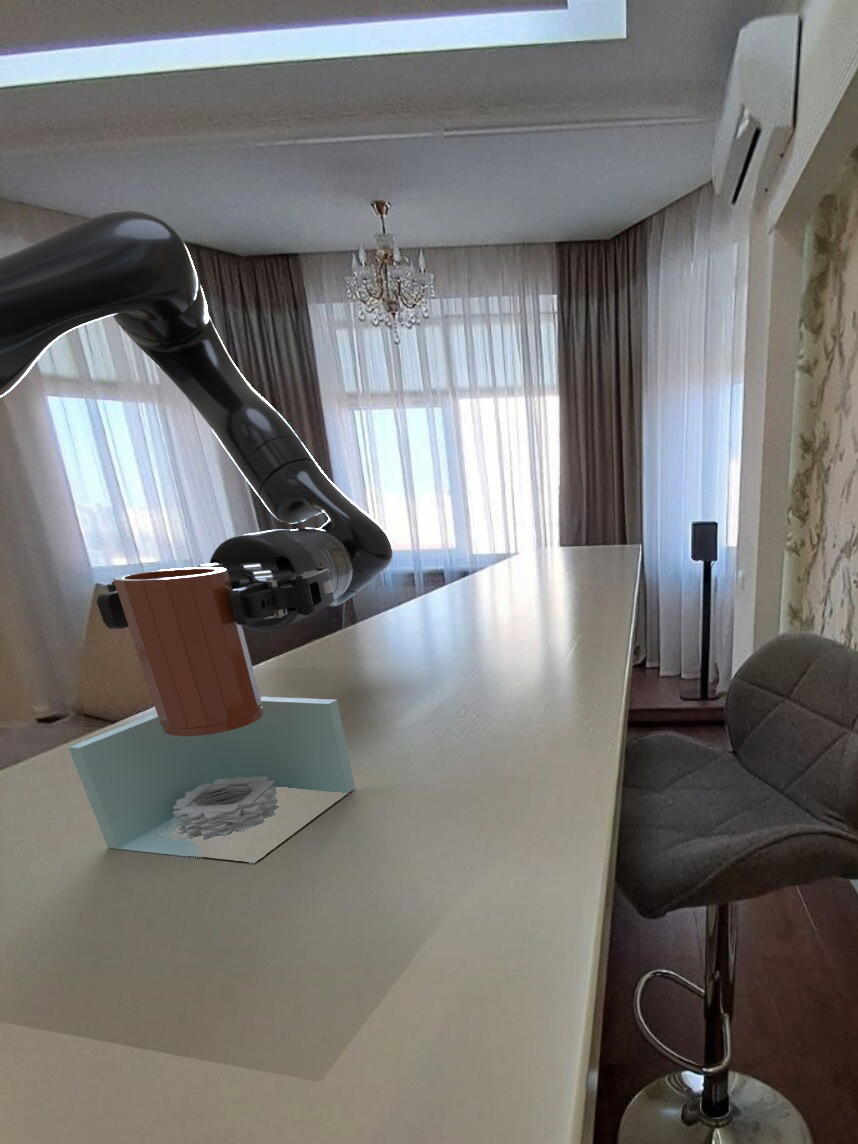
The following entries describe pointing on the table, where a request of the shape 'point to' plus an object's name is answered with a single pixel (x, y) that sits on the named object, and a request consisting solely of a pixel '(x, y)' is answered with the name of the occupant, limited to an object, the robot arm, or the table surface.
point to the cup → (191, 649)
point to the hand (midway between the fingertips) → (172, 610)
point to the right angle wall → (209, 774)
